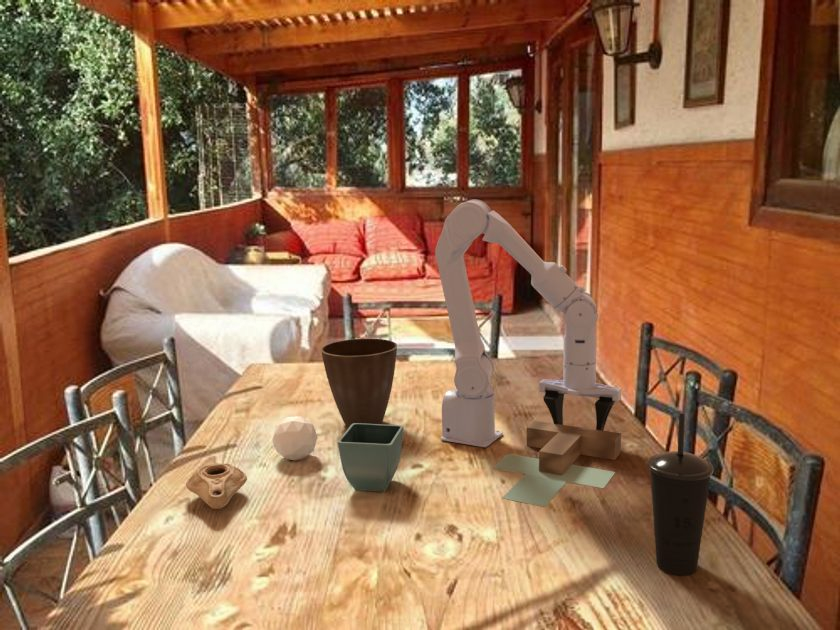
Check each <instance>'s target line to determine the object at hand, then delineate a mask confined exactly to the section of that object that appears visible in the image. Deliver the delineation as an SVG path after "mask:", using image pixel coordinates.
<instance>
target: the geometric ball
mask: <svg viewBox="0 0 840 630" xmlns="http://www.w3.org/2000/svg"><path fill="white" fill-rule="evenodd" d="M318 438H319V437H318V434H317V431H316V429H315V426H314V423H311V422H310V421H309V420H308V419H306V418H304V417H303V416H286V417H285V418H284V419H283V420H281V421H280V422H279V423H278V424H276V425H275V428H274V432H273V435H272V443H273V447H274V449H275V451H276V452H277V453H278V454H279V455H280V456H282V458H285V459H287V460H288V459H290V460H289V461H300V460H303V458H304V459H305V458H307V457H308V456H309V455H311V454H312V452H315V447H316V443H317V441H318ZM299 459H300V460H299Z"/></svg>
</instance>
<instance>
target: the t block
mask: <svg viewBox="0 0 840 630" xmlns="http://www.w3.org/2000/svg"><path fill="white" fill-rule="evenodd" d="M526 447H530V448H531V447H532V448H538V449H540V450H539V451H538V459H539V471H541V472H546V473H552V474H558V475H563V474H564V473H565V472H566V470H567V469H568V468H569V467H570V466H571V465H574V463H575V461H576V460H577V459H578V458H579V457H580V456H581V455H582V456H588V457H594V458H599V459H600V458H601V459H607V460H613V461H615V460H616V459H617V458H618V456H619V455H620V453H621V452H622V451H621V450H622V449H621V447H622V433H621V432H616V431H615V432H614V431H608V430H604V431H602V430H596V428H595V429H594V428H587V427H580V426H573V425H564V424H563V425H560V424H554V422H553V423H551V422H545V421H537V420H534V421H533V422H532V423H530V424H529V425H528V426H526Z"/></svg>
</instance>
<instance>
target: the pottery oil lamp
mask: <svg viewBox="0 0 840 630" xmlns="http://www.w3.org/2000/svg"><path fill="white" fill-rule="evenodd" d="M247 480H248V475H246V473H245V472H243V471H242V470H241V469H240V468H239V467H236V466H234V465H232V464H231V463H226V462H225V463H223V462H222V463H220V462H219V463H217V462H213V463H211V462H210V463H209V464H206V465H204V466H201V467H200V468H199V469H198V470H196V471H195V472H194V473H192V475H191V476H190V478H188V479H187V481H186V483H185V486H186V488H187V490H188V491H190V492H191V493H194V494H195V495H197V496H198V497H199V498H201V500H202V501H203V502H204V503H205V504H207V505H208V506H209V507H210V508H211V509H214V510H221V509H222V508H224V507H225V506H226V505H228V503H229V502H230V501H231V499H232V497H233V496H234V495H235V494H236V493H237V492H238V491H239V490H240V489H241V488H242V486H244V485H245V484H246V482H247Z"/></svg>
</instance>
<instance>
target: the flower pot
mask: <svg viewBox="0 0 840 630" xmlns="http://www.w3.org/2000/svg"><path fill="white" fill-rule="evenodd" d="M403 435H404V425H402V424H401V425H398V424H383V423H382V424H364V423H353V424H352V425H351V426H350V427H349V428H348V427H347V430H346V431H345V432H344V433H343V434H342V435H341V437H340V438H339V439H338V440H337V447H338V452H339V456H340V457H339V458H340V463H341V469H342V471H343V473H344V476H345V478H346V480H347V481H348V483H349V485H350V486H351V487H352V488H353V489H354V490H356V491H366V492H367V491H370V492H381V493H382V492H385V491H387V489H388V487H389V485H390V483H391V482H392V481H393V478H394V476H395V474H396V472H397V470H398V467H399V464H400V462H401V461H400V460H401V458H402V457H401V456H402V449H403V439H404V437H403Z"/></svg>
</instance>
